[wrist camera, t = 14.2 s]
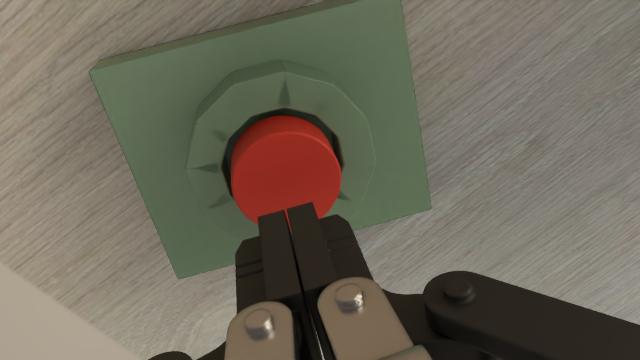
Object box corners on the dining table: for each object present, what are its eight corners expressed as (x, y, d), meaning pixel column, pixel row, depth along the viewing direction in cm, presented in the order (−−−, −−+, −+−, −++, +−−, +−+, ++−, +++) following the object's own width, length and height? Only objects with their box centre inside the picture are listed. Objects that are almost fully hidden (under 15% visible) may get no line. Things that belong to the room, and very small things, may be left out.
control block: (181, 257, 23) (173, 308, 20) (98, 60, 19) (72, 84, 16) (419, 191, 24) (448, 231, 21) (387, -15, 20) (416, -6, 17)
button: (247, 219, 19) (249, 244, 18) (217, 129, 18) (216, 149, 16) (341, 193, 20) (351, 215, 18) (320, 102, 18) (329, 118, 16)
